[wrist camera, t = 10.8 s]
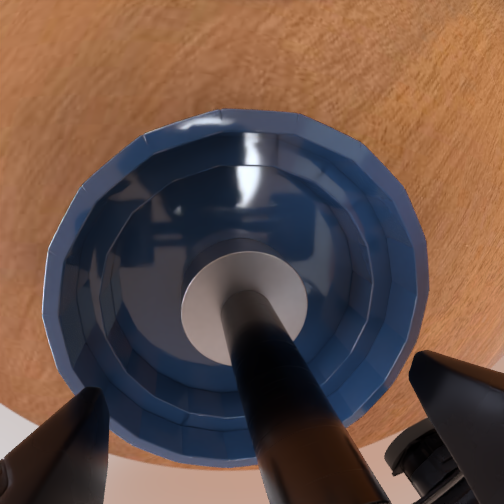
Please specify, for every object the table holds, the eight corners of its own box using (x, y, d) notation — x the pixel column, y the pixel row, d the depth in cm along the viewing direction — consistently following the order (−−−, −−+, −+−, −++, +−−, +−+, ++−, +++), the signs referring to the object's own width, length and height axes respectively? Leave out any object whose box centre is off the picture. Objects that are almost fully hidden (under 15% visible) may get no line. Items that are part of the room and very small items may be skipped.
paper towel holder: (289, 337, 15) (406, 532, 5) (185, 345, 14) (206, 583, 4) (296, 236, 14) (504, 395, 3) (178, 239, 13) (164, 492, 2)
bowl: (350, 387, 18) (385, 434, 14) (110, 408, 15) (99, 468, 11) (383, 140, 14) (446, 139, 10) (71, 134, 11) (23, 124, 7)
